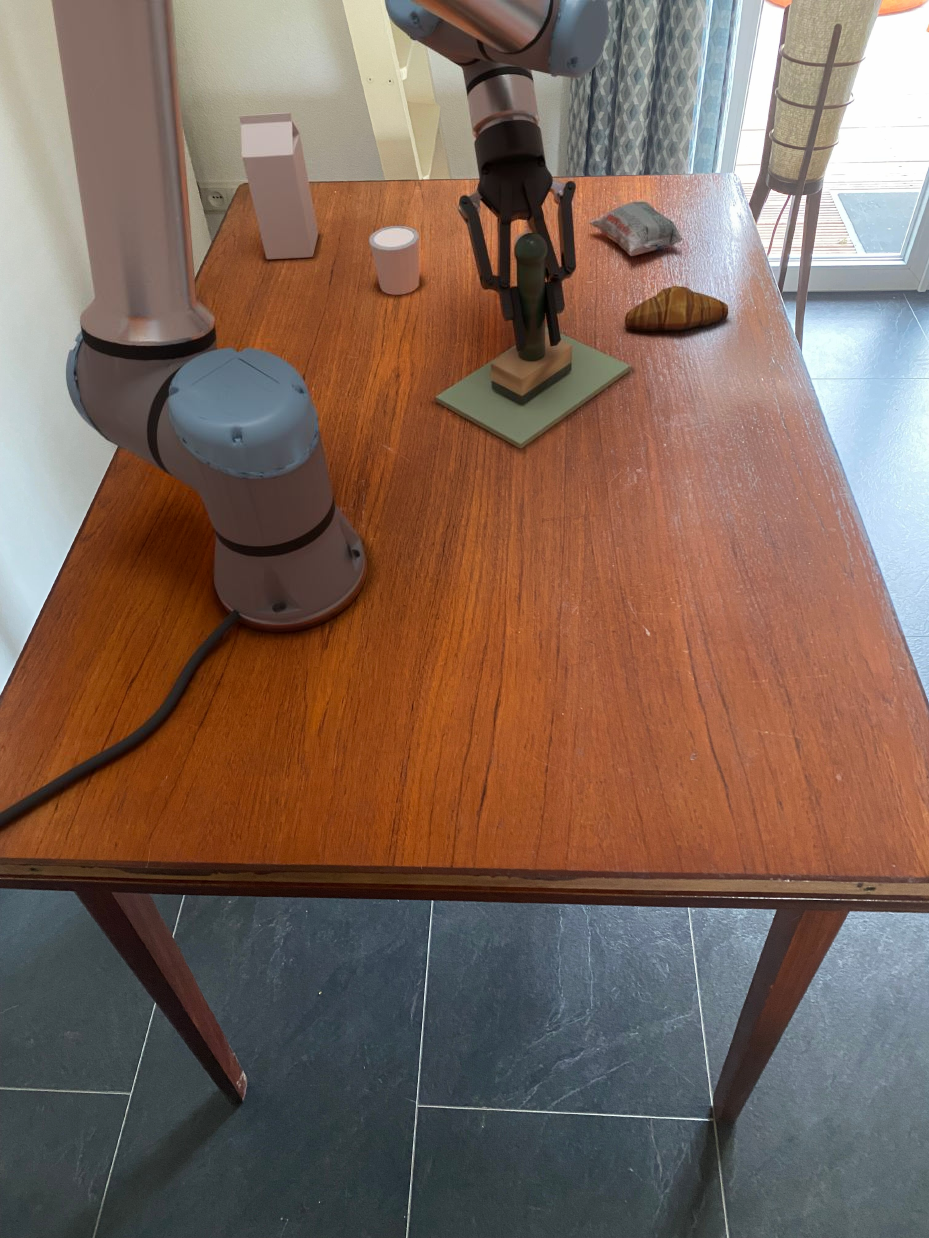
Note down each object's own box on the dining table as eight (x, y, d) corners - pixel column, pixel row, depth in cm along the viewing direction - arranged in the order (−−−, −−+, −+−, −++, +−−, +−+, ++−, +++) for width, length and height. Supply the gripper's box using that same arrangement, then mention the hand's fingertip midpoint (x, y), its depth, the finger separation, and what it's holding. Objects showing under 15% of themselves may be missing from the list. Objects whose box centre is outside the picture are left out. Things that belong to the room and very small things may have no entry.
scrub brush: (522, 405, 107) (519, 258, 93) (491, 388, 110) (484, 244, 96) (571, 370, 111) (576, 225, 97) (541, 355, 113) (541, 212, 100)
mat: (520, 449, 103) (520, 444, 103) (435, 402, 110) (435, 396, 110) (630, 370, 112) (630, 365, 111) (544, 331, 119) (544, 325, 118)
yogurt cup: (432, 278, 130) (428, 231, 124) (405, 301, 126) (399, 253, 121) (394, 268, 132) (388, 221, 127) (366, 290, 129) (358, 242, 123)
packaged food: (629, 270, 128) (632, 236, 124) (588, 235, 135) (590, 201, 131) (682, 255, 130) (686, 221, 126) (639, 221, 137) (642, 188, 133)
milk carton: (313, 258, 136) (286, 123, 121) (266, 260, 136) (234, 126, 122) (318, 235, 140) (293, 102, 126) (273, 237, 141) (243, 105, 126)
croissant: (719, 305, 120) (725, 269, 117) (733, 332, 116) (740, 297, 112) (618, 315, 120) (621, 280, 117) (629, 343, 116) (632, 308, 112)
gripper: (572, 138, 105) (601, 343, 107) (433, 157, 104) (465, 363, 106) (585, 106, 97) (616, 327, 99) (435, 126, 96) (470, 348, 98)
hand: (538, 345), depth 102 cm, fingers closed on scrub brush, 3 cm apart
